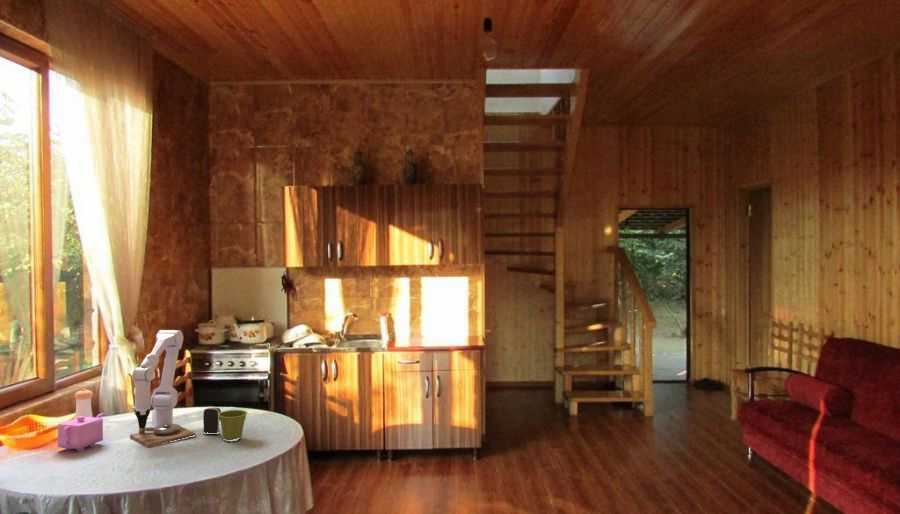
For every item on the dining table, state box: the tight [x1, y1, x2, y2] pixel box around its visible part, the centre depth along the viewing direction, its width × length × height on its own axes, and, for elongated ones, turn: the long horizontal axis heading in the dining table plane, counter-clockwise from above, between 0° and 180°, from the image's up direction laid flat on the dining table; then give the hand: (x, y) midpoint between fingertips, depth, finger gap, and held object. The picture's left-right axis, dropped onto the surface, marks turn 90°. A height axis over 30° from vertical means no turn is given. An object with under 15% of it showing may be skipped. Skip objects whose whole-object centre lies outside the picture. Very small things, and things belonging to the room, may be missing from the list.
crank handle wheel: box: [138, 423, 180, 435], centre depth 256 cm, size 16×10×5 cm, turn 102°
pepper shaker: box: [73, 388, 94, 419], centre depth 260 cm, size 7×7×19 cm
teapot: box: [57, 412, 104, 453], centre depth 241 cm, size 20×10×12 cm, turn 168°
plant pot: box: [218, 409, 248, 440], centre depth 252 cm, size 12×12×11 cm
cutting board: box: [129, 426, 197, 448], centre depth 254 cm, size 18×20×2 cm
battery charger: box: [202, 407, 222, 433], centre depth 260 cm, size 7×4×11 cm, turn 81°
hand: (142, 428), depth 251 cm, fingers closed
